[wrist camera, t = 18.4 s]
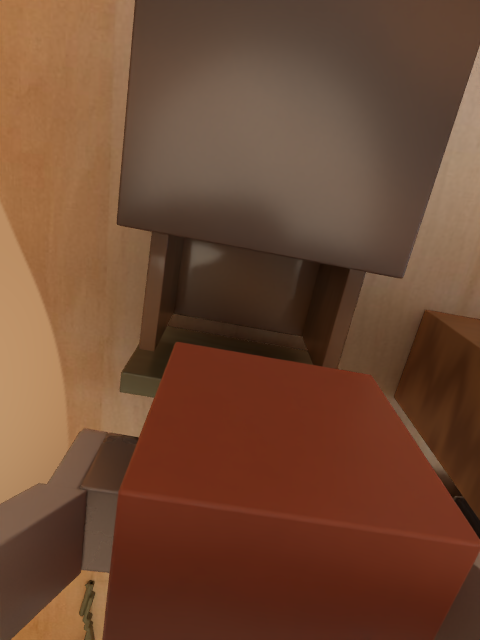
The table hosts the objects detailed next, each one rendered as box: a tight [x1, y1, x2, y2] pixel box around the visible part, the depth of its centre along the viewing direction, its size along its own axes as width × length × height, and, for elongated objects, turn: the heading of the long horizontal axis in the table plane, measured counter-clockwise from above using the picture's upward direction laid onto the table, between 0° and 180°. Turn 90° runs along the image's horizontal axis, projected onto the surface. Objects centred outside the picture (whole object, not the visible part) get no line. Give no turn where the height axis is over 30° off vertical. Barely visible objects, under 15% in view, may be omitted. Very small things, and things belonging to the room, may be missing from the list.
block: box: [103, 342, 480, 640], centre depth 8 cm, size 4×4×4 cm
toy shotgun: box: [79, 580, 95, 640], centre depth 38 cm, size 12×2×1 cm, turn 170°
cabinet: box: [117, 0, 480, 278], centre depth 19 cm, size 15×13×9 cm
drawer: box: [120, 232, 366, 398], centre depth 23 cm, size 18×11×7 cm, turn 169°
